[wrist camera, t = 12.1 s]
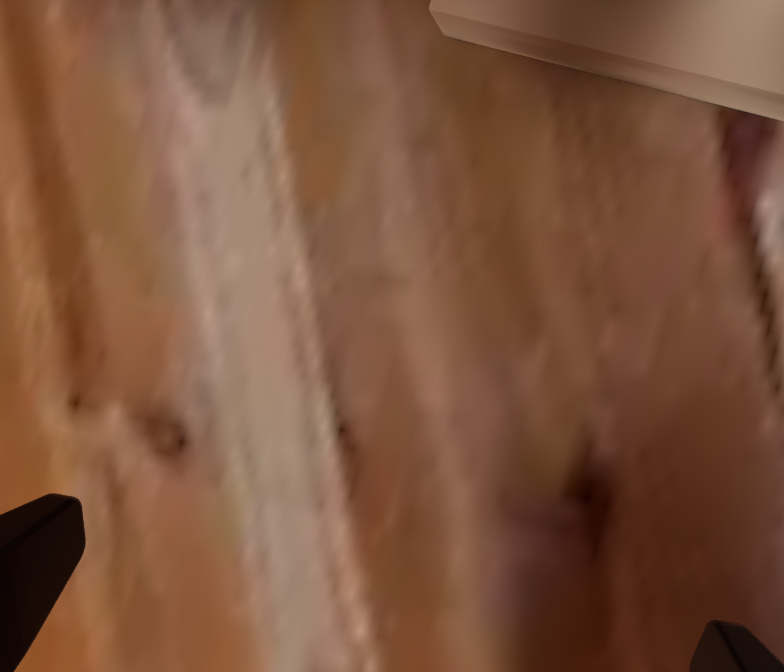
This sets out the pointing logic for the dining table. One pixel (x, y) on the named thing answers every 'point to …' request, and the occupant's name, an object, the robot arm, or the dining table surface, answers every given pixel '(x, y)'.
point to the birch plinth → (642, 42)
